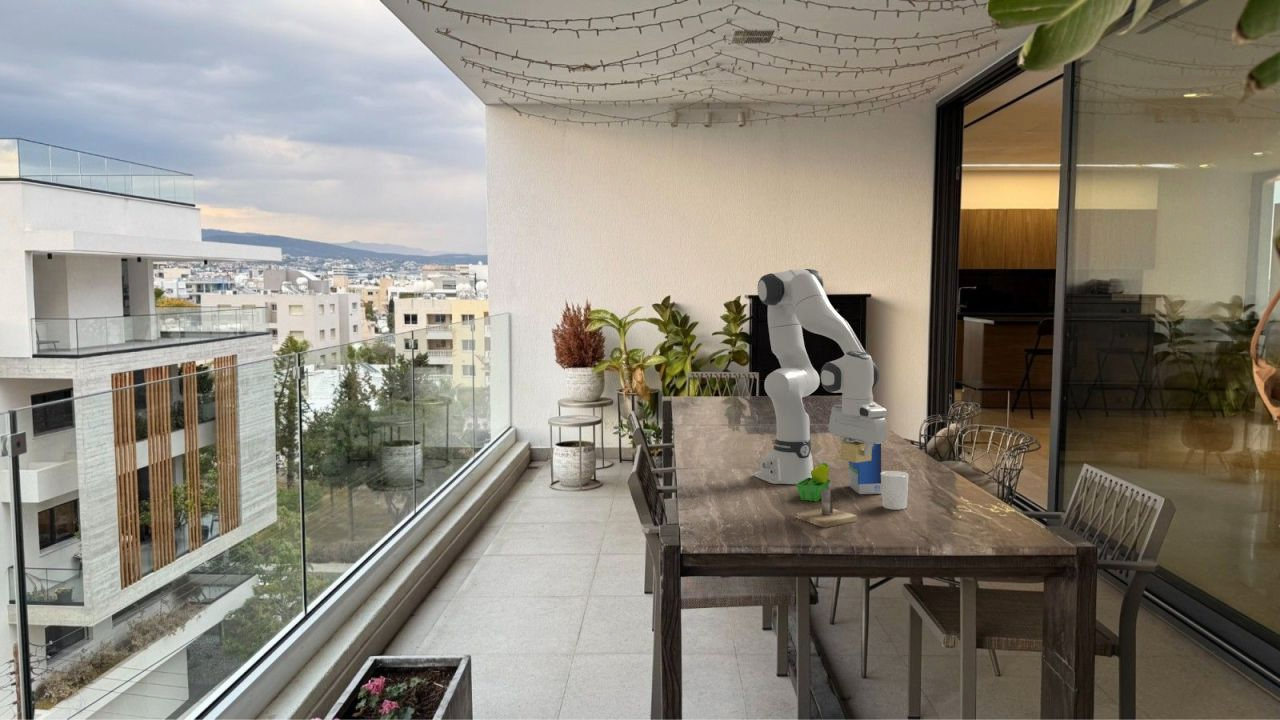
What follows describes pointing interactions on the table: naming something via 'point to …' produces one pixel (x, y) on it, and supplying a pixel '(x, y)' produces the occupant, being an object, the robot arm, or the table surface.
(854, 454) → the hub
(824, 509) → the shaft block
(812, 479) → the fruit basket
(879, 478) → the string lights box
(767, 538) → the table surface
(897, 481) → the white cup
